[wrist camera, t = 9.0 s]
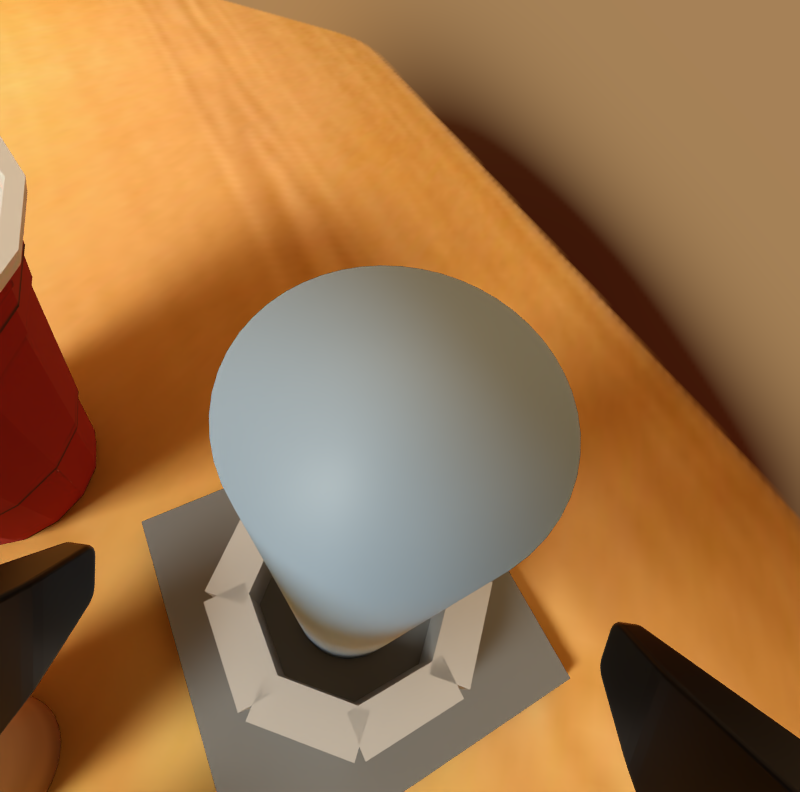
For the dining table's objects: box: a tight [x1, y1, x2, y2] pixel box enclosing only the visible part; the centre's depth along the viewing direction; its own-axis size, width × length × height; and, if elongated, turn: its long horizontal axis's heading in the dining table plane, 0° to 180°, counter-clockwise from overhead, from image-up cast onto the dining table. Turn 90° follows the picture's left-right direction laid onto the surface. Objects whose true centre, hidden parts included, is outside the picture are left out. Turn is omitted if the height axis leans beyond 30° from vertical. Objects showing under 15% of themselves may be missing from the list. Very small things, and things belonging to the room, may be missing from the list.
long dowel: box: [209, 266, 581, 659], centre depth 11 cm, size 4×4×14 cm
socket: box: [142, 489, 570, 792], centre depth 16 cm, size 11×11×3 cm
